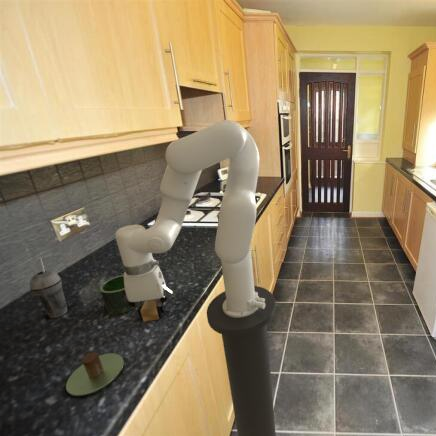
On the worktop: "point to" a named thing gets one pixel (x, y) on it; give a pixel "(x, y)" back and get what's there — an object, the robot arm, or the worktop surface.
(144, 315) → the block
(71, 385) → the lid
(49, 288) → the beverage cup
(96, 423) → the worktop surface
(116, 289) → the tin
